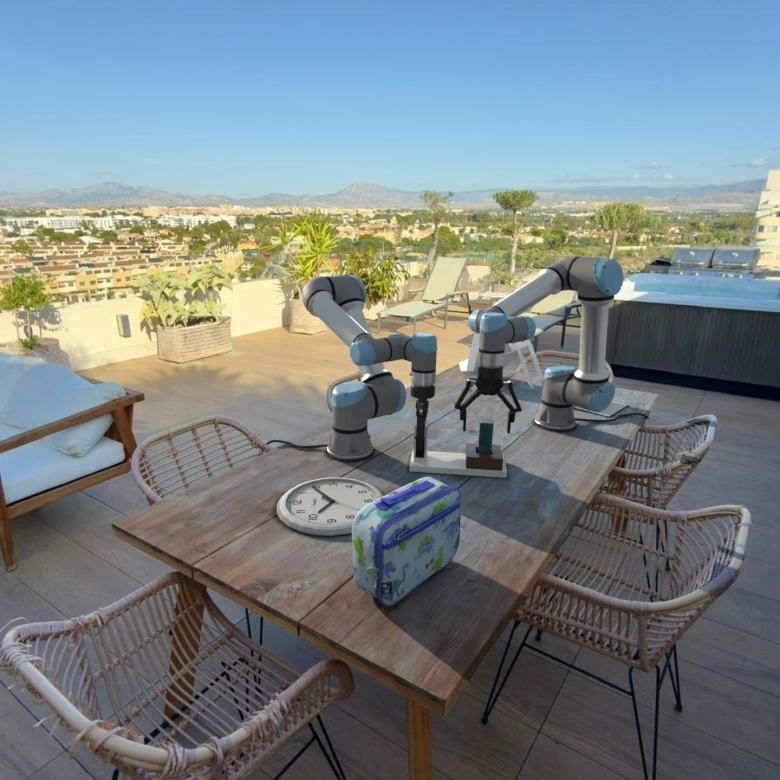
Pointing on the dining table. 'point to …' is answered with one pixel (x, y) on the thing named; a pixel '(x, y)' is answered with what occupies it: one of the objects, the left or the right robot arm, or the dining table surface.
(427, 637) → the dining table surface
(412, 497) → the lunch box
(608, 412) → the invitation card
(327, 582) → the dining table surface
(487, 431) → the peg
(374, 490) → the wall clock
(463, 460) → the peg board
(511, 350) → the white plastic object
